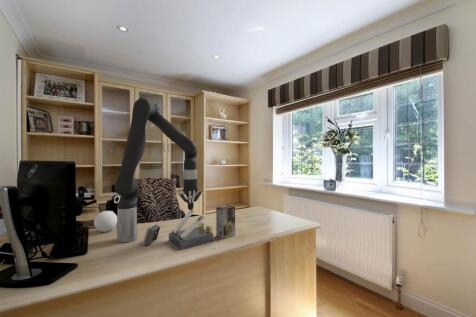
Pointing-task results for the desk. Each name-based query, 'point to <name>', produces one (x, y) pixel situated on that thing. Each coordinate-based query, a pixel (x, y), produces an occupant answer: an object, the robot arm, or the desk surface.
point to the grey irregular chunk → (151, 234)
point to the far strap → (183, 221)
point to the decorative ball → (105, 221)
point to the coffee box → (225, 221)
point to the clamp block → (192, 237)
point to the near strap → (191, 227)
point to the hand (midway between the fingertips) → (190, 209)
